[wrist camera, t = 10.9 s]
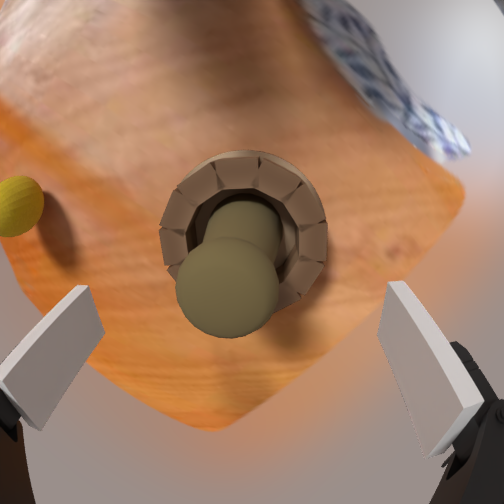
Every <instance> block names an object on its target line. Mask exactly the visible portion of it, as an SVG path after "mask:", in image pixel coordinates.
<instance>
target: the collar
mask: <svg viewBox="0 0 504 504" xmlns="http://www.w3.org/2000/svg"><path fill="white" fill-rule="evenodd" d="M177 187H178V188H176V189H175V190H173V192H172V194H171V197H170V199H169V202H168V204H167V207H166V209H165V212H164V214H163V217H162V219H161V222H160V224H159V225H160V226H162V228H161V229H160V230H159V235H160V241H161V247H162V253H163V259H164V265H170V266H169V268H168V269H167V271H168V272H169V274H170V275H171V276H172V277H173V279H174V280H175V281H176V280H177V275H178V271H179V267H180V266H181V264H182V263H183V261H184V260H185V258H186V257H187V256H188V254H189V253H190V251H192V250H193V249H195V248H196V247H197V246H199V245H200V244H202V243H203V239H204V236H205V232H206V229H207V225H208V222H209V218H210V215H211V213H212V211H213V210H214V208H215V207H216V205H217V204H218V203H220V202H221V201H222V200H224V199H225V198H226V197H229V196H232V195H235V194H238V193H246V194H254V195H257V196H260V197H263V198H264V199H265V200H267V201H268V202H269V203H271V204H272V205H273V206H274V207H275V209H276V210H277V212H278V213H279V215H280V218H281V221H282V224H283V237H282V240H281V243H280V246H279V249H278V252H277V255H276V258H275V261H274V264H273V265H274V267H275V270H276V273H277V276H278V280H279V297H278V302H277V304H276V307H275V309H274V311H273V313H275V312H277V311H279V310H281V309H283V308H285V307H287V306H289V305H291V304H292V303H294V302H296V301H298V300H300V299H301V296H300V294H303V295H306V293H307V292H308V290H309V289H310V287H311V286H312V284H313V283H314V281H315V280H316V278H317V277H318V275H319V274H320V272H321V271H322V269H323V268H324V263H323V261H326V256H327V229H328V223H327V222H326V220H325V219H326V217H325V214H324V209H323V206H322V203H321V200H320V198H319V196H318V194H317V192H316V190H315V188H314V187H313V185H312V184H311V183H310V181H309V180H308V179H307V178H306V177H305V176H304V174H303V173H302V172H300V171H299V170H298V169H297V168H296V167H294V166H293V165H292V164H290V163H288V162H287V161H285V160H284V159H281V158H279V157H277V156H275V155H272V154H268V153H265V152H260V151H254V150H238V151H230V152H226V153H222V154H219V155H216V156H214V157H212V158H209V159H207V160H206V161H204V162H202V163H201V164H199V165H198V166H196V167H195V168H194V169H193V170H192V171H190V172H189V174H188V175H187V176H186V177H185V178H184V179H183V180H182V182H181V183H180V184H179V185H177ZM273 313H272V314H273Z"/></svg>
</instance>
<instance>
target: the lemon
mask: <svg viewBox="0 0 504 504" xmlns="http://www.w3.org/2000/svg"><path fill="white" fill-rule="evenodd" d="M43 208H44V195H43V192H42V189H41V187H40V186H39V184H38V183H37V182H36V181H35V180H33V179H32V178H29V177H27V176H14V177H10V178H8V179H6V180H4V181H2V182H1V183H0V236H2V237H14V236H18V235H21V234H23V233H25V232H27V231H29V230H30V229H31V228H32V227H33V226H34V225H35V224H36V223H37V222H38V221H39V219H40V217H41V215H42V212H43Z"/></svg>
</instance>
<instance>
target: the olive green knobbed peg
mask: <svg viewBox="0 0 504 504" xmlns="http://www.w3.org/2000/svg"><path fill="white" fill-rule="evenodd" d="M282 237H283V224H282V221H281V218H280V215H279V213H278V212H277V210H276V209H275V207H274V206H273V205H272V204H271V203H269V202H268V201H267V200H265V199H264V198H263V197H260V196H257V195H254V194H246V193H238V194H235V195H232V196H229V197H226V198H225V199H224V200H222V201H221V202H220V203H218V204H217V205H216V207H215V208H214V210H213V211H212V213H211V215H210V218H209V222H208V225H207V229H206V232H205V236H204V239H203V243H202V244H200V245H199V246H197V247H196V248H195V249H193V250H192V251H190V253H189V254H188V256H187V257H186V258H185V260H184V261H183V263H182V264H181V266H180V267H179V271H178V275H177V280H176V286H175V289H176V296H177V301H178V303H179V305H180V307H181V309H182V311H183V313H184V315H185V317H186V318H187V319H188V320H189V321H190V322H191V323H192V324H193V325H194V326H195V327H196V328H198V329H199V330H201V331H203V332H204V333H206V334H209V335H212V336H215V337H218V338H237V337H243V336H246V335H248V334H250V333H252V332H254V331H256V330H258V329H259V328H261V327H262V326H263V325H264V324H265V323H266V322H267V321H268V320H269V319H270V317H271V315H272V313H273V311H274V309H275V307H276V304H277V302H278V297H279V280H278V276H277V273H276V270H275V267H274V265H273V264H274V261H275V258H276V255H277V252H278V249H279V246H280V243H281V240H282Z"/></svg>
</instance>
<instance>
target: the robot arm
mask: <svg viewBox="0 0 504 504" xmlns="http://www.w3.org/2000/svg"><path fill="white" fill-rule="evenodd" d="M104 334H105V331H104V328H103V326H102V323H101V320H100V317H99V315H98V312H97V309H96V306H95V303H94V300H93V297H92V294H91V291H90V288H89V286H84V285H77V286H76V287H75V288H74V289H72V290H71V291H70V292H69V293H68V294H67V295H66V296H65V297H64V298H63V299H62V300H61V301H60V302H59V303H58V304H57V305H56V306H55V307H54V308H53V309H52V310H51V311H50V312H49V313H48V314H47V315H46V316H45V317H44V318H43V319H42V320H41V321H40V322H39V323H38V324H37V325H36V326H35V327H34V328H33V329H32V330H31V331H30V332H29V333H28V334H27V336H26V337H25V338H24V339H23V340H22V341H21V342H20V343H19V344H18V345H17V346H16V347H15V348H14V349H13V351H11V353H10V354H9V355H8V357H6V358H5V359H4V360H3V362H2V363H1V364H0V504H36V503H35V499H34V495H33V491H32V487H31V482H30V478H29V472H28V466H27V460H26V454H25V446H24V438H23V427H22V424H21V422H20V421H19V418H20V417H21V416H22V417H23V419H24V420H25V421H26V422H27V423H28V425H29V426H31V427H33V428H35V429H37V430H39V431H41V430H42V429H43V427H44V426H45V424H46V422H47V421H48V419H49V417H50V415H51V414H52V412H53V411H54V409H55V408H56V406H57V404H58V403H59V401H60V399H61V398H62V396H63V395H64V393H65V392H66V390H67V389H68V387H69V385H70V384H71V382H72V381H73V379H74V378H75V376H76V375H77V373H78V372H79V370H80V369H81V367H82V366H83V364H84V363H85V361H86V360H87V359H88V357H89V356H90V354H91V353H92V351H93V350H94V348H95V347H96V346H97V344H98V343H99V341H100V340H101V339H102V337H103V336H104ZM377 336H378V338H379V341H380V343H381V345H382V348H383V350H384V352H385V355H386V357H387V359H388V362H389V364H390V366H391V369H392V371H393V374H394V376H395V378H396V381H397V384H398V386H399V389H400V391H401V394H402V396H403V399H404V402H405V404H406V407H407V410H408V412H409V415H410V418H411V420H412V423H413V426H414V429H415V432H416V435H417V438H418V441H419V444H420V447H421V450H422V453H423V456H424V459H427V458H430V457H433V456H436V455H439V454H442V453H444V452H445V451H446V450H447V449H448V448H449V447H450V445H451V444H453V447H454V449H455V451H454V452H453V453H452V454H451V455H450V457H448V458H447V460H446V461H445V462H444V463H443V465H442V466H441V467H445V466H446V464H448V465H447V467H446V470H445V472H444V474H443V476H442V479H441V481H440V483H439V485H438V487H437V489H436V491H435V493H434V495H433V498H432V499H431V501H430V503H429V504H504V400H503V399H501V400H499V399H498V397H497V396H496V394H495V392H494V391H493V389H492V387H491V386H490V384H489V382H488V381H487V379H486V378H485V376H484V375H483V373H482V372H481V370H480V369H479V367H478V365H477V364H476V363H475V361H473V358H472V356H471V355H470V353H469V352H468V351H467V349H466V348H464V347H463V346H462V345H460V344H459V343H458V342H457V341H455V342H451V343H449V342H448V341H447V339H446V338H445V336H444V335H443V333H442V332H441V331H440V329H439V328H438V326H437V325H436V323H435V322H434V320H433V319H432V318H431V316H430V315H429V314H428V312H427V311H426V309H425V308H424V307H423V305H422V304H421V303H420V301H419V300H418V299H417V297H416V296H415V295H414V293H413V292H412V291H411V289H410V288H409V287H408V286H407V284H406V283H405V282H404V281H394V282H388V284H387V289H386V295H385V300H384V305H383V310H382V315H381V320H380V324H379V329H378V333H377Z"/></svg>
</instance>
